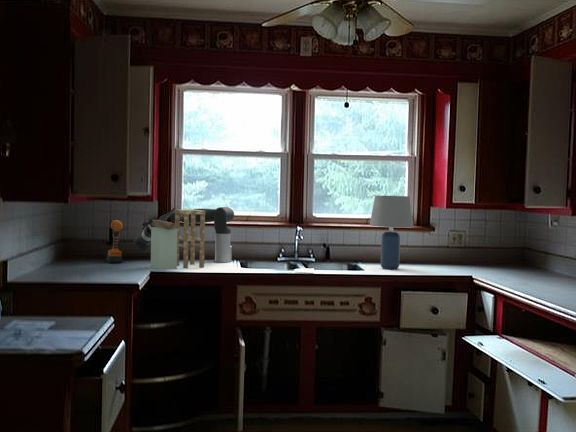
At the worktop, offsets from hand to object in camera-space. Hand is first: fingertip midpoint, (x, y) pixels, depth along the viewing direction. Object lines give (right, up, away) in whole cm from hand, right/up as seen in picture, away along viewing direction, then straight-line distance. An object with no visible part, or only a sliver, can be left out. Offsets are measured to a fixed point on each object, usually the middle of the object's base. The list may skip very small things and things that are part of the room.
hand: (158, 219), depth 329 cm
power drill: (-29, -25, +13) cm, 40 cm away
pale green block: (+5, -27, -7) cm, 28 cm away
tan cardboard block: (+4, -4, -7) cm, 9 cm away
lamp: (+133, -29, +12) cm, 137 cm away
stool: (+17, -27, 0) cm, 32 cm away
